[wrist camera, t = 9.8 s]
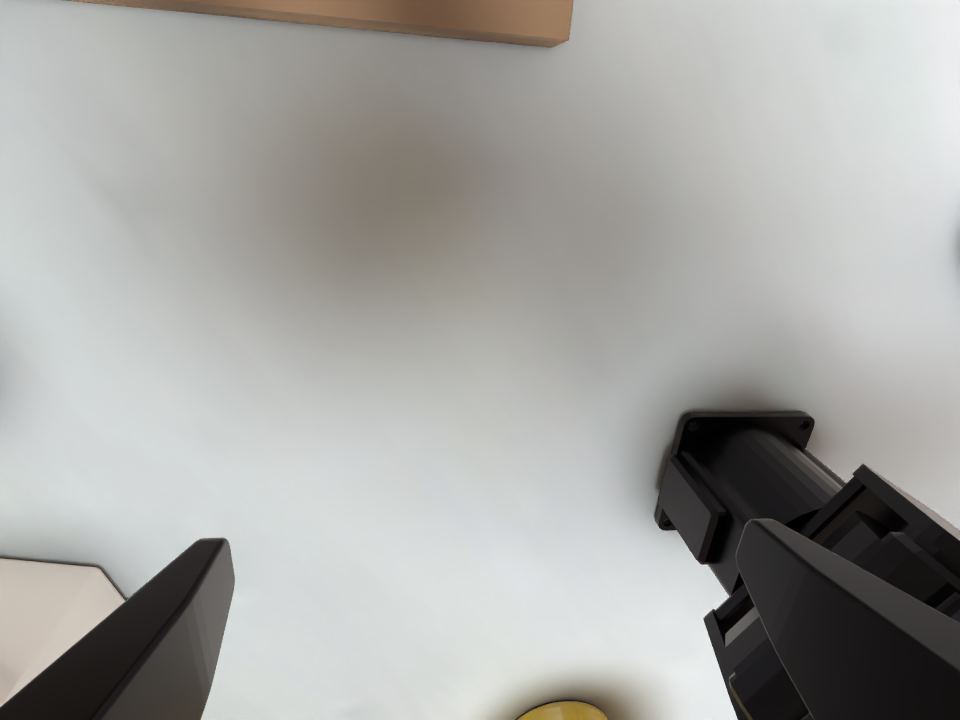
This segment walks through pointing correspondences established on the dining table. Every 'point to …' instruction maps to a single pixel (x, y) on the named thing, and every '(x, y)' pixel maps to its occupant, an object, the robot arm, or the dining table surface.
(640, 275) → the dining table surface
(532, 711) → the plant pot
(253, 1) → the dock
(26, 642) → the jar
